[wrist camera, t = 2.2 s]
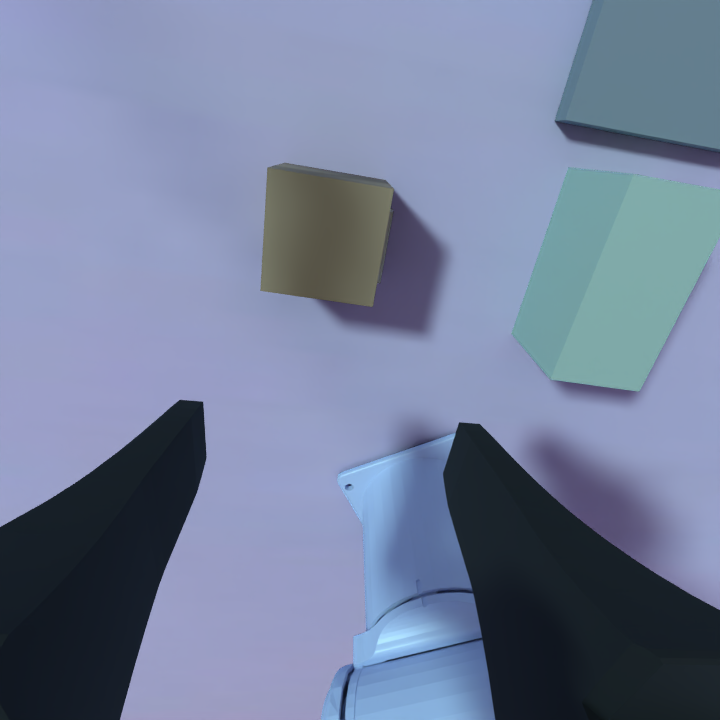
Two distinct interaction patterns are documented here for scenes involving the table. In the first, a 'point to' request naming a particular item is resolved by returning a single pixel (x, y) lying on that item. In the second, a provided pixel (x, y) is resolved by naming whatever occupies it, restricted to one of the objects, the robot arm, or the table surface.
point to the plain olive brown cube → (325, 234)
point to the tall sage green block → (614, 275)
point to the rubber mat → (648, 71)
